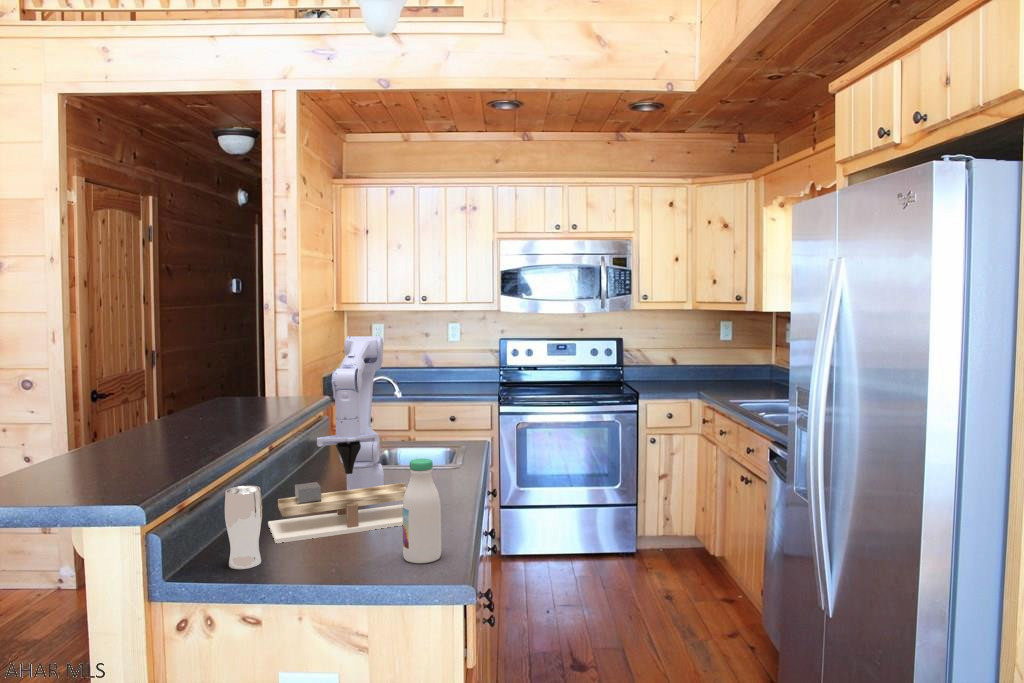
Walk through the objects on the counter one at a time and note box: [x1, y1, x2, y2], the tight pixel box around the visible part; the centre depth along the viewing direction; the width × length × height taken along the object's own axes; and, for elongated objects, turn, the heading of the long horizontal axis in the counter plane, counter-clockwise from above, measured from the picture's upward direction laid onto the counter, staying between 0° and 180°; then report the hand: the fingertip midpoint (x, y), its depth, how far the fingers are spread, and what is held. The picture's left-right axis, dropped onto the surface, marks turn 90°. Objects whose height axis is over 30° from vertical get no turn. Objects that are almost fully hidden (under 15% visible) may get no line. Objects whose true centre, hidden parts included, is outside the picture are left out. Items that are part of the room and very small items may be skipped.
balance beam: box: [277, 482, 407, 518], centre depth 170 cm, size 30×9×3 cm, turn 115°
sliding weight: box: [294, 481, 322, 505], centre depth 166 cm, size 5×5×4 cm
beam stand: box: [267, 503, 403, 544], centre depth 170 cm, size 34×14×6 cm, turn 115°
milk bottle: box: [402, 458, 442, 564], centre depth 147 cm, size 8×8×20 cm
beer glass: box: [224, 485, 263, 570], centre depth 144 cm, size 7×7×15 cm
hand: (348, 473), depth 177 cm, fingers closed
